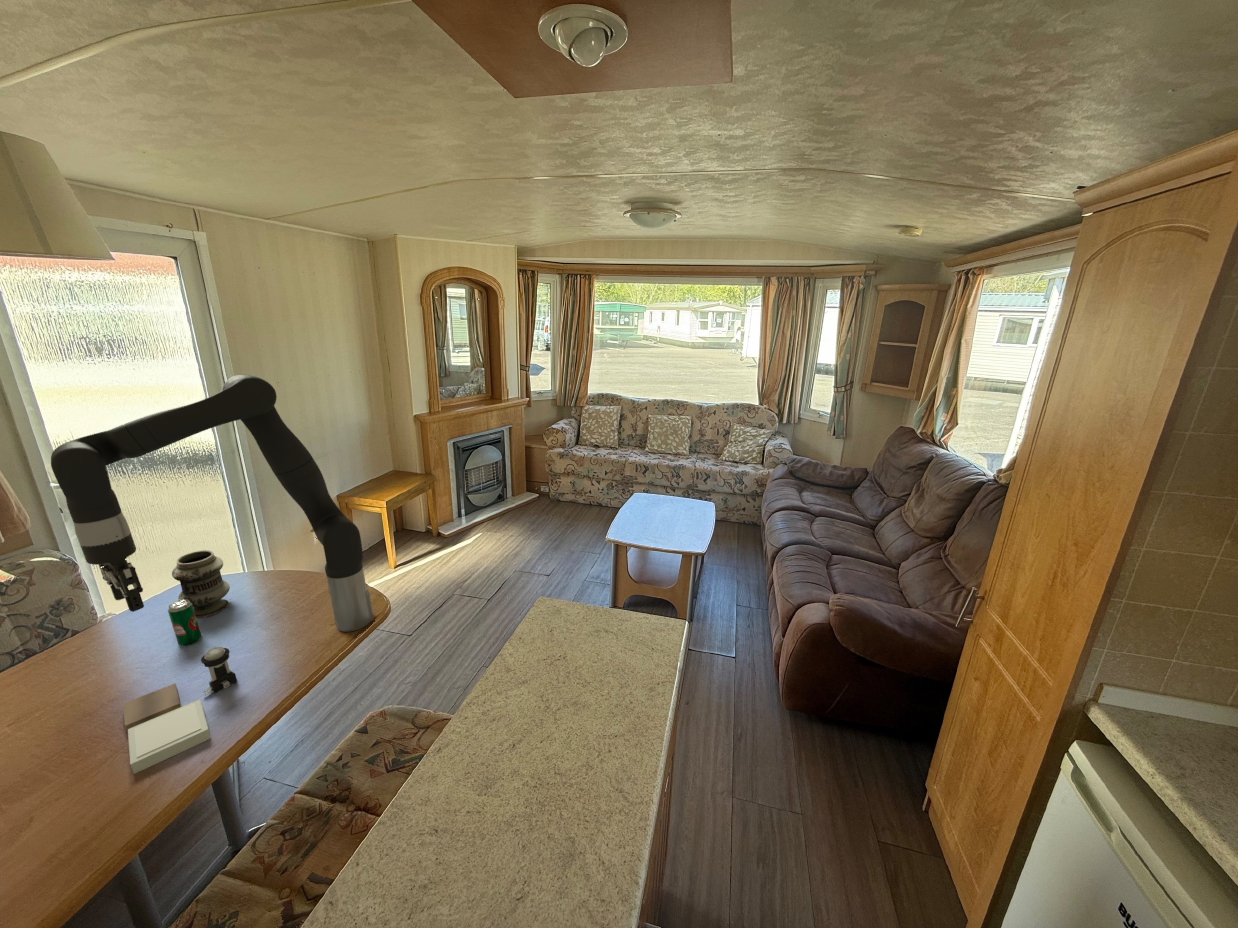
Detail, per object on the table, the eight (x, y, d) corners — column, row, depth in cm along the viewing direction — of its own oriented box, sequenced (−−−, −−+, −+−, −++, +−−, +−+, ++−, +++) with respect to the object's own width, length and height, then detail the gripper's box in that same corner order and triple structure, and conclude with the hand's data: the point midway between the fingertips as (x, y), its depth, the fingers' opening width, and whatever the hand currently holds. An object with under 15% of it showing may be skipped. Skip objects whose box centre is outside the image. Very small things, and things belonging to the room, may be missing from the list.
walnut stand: (177, 689, 119) (175, 683, 118) (181, 710, 112) (179, 703, 112) (126, 710, 112) (123, 703, 112) (127, 732, 106) (124, 725, 106)
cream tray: (202, 707, 113) (199, 698, 112) (210, 738, 105) (207, 728, 104) (131, 738, 105) (127, 728, 104) (133, 773, 97) (130, 763, 96)
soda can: (174, 644, 135) (162, 606, 131) (195, 633, 139) (184, 596, 136) (185, 648, 133) (173, 610, 129) (206, 638, 137) (195, 600, 134)
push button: (210, 700, 115) (199, 665, 112) (199, 692, 118) (188, 657, 115) (242, 682, 121) (232, 648, 118) (230, 675, 123) (221, 641, 120)
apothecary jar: (212, 620, 145) (197, 566, 140) (172, 620, 145) (155, 566, 140) (243, 598, 156) (230, 547, 151) (206, 597, 157) (191, 546, 151)
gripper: (142, 537, 101) (165, 604, 106) (117, 522, 108) (139, 586, 113) (92, 552, 95) (118, 622, 100) (68, 535, 102) (94, 603, 107)
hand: (129, 603), depth 107 cm, fingers open, 8 cm apart
